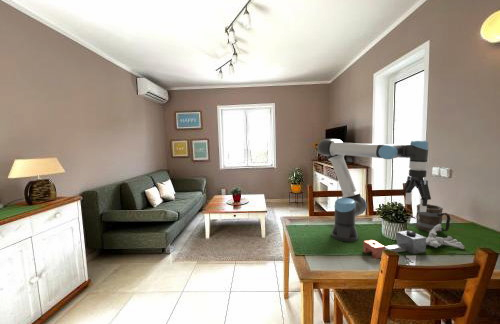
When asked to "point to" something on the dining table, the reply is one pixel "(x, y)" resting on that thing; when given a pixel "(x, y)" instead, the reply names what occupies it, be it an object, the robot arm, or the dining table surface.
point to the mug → (431, 218)
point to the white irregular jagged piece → (441, 239)
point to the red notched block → (373, 248)
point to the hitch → (408, 242)
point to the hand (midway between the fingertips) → (415, 207)
